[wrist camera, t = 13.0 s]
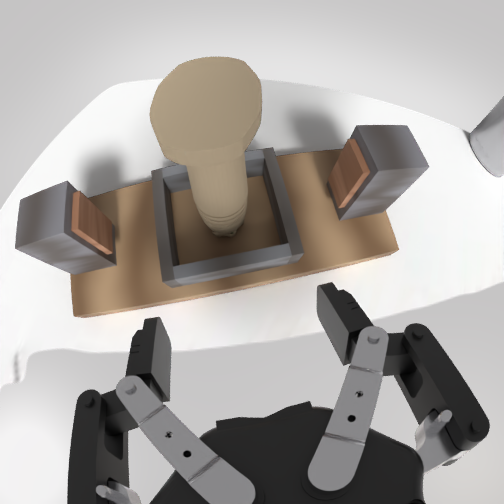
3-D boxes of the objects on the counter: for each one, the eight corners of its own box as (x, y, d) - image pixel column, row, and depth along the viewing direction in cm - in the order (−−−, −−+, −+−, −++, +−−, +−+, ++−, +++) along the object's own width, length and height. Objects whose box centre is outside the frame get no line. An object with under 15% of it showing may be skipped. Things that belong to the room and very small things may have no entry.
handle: (196, 257, 24) (137, 155, 10) (201, 191, 26) (166, 60, 12) (252, 257, 24) (263, 150, 10) (252, 190, 26) (259, 56, 12)
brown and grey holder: (353, 157, 30) (389, 92, 19) (389, 255, 27) (454, 214, 16) (79, 210, 27) (24, 160, 17) (84, 317, 24) (10, 304, 14)
